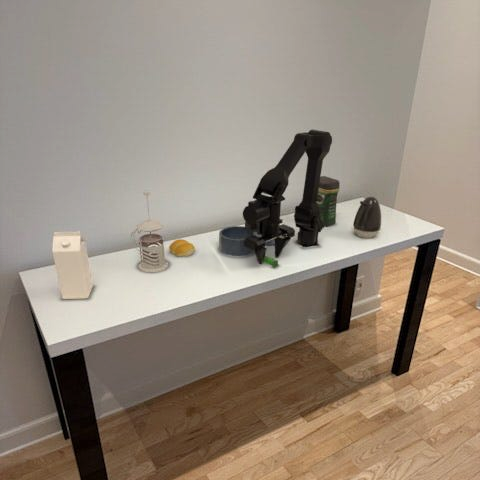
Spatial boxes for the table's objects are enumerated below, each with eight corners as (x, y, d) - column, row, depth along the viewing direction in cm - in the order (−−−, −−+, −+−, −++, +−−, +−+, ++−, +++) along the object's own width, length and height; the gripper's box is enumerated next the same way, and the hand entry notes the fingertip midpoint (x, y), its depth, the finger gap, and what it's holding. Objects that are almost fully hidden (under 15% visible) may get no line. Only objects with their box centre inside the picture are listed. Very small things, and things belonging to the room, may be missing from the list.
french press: (160, 274, 140) (153, 197, 128) (127, 268, 143) (118, 193, 131) (173, 261, 149) (168, 187, 136) (142, 256, 151) (134, 184, 139)
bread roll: (180, 259, 150) (179, 248, 148) (166, 251, 156) (165, 240, 154) (200, 253, 154) (199, 242, 152) (185, 244, 160) (185, 234, 158)
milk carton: (68, 287, 132) (56, 227, 123) (93, 286, 133) (82, 227, 123) (62, 299, 126) (49, 237, 117) (88, 298, 127) (77, 237, 117)
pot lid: (278, 231, 173) (279, 217, 170) (293, 244, 162) (294, 230, 159) (245, 235, 169) (245, 221, 166) (258, 249, 158) (258, 234, 155)
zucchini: (257, 260, 150) (257, 254, 149) (262, 259, 151) (262, 253, 150) (275, 268, 145) (276, 262, 144) (280, 266, 146) (280, 260, 145)
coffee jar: (338, 224, 180) (344, 179, 171) (324, 228, 176) (329, 182, 167) (321, 217, 187) (326, 173, 178) (307, 220, 183) (311, 176, 174)
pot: (248, 240, 164) (248, 224, 161) (260, 254, 154) (261, 237, 151) (215, 245, 161) (214, 228, 158) (225, 259, 150) (225, 241, 147)
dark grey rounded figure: (345, 233, 172) (351, 195, 164) (365, 228, 177) (371, 191, 169) (364, 242, 164) (371, 203, 157) (384, 237, 169) (392, 198, 161)
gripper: (272, 203, 150) (269, 245, 158) (231, 216, 139) (231, 261, 147) (297, 212, 143) (294, 255, 151) (257, 226, 132) (255, 272, 140)
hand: (268, 260), depth 147 cm, fingers open, 8 cm apart
